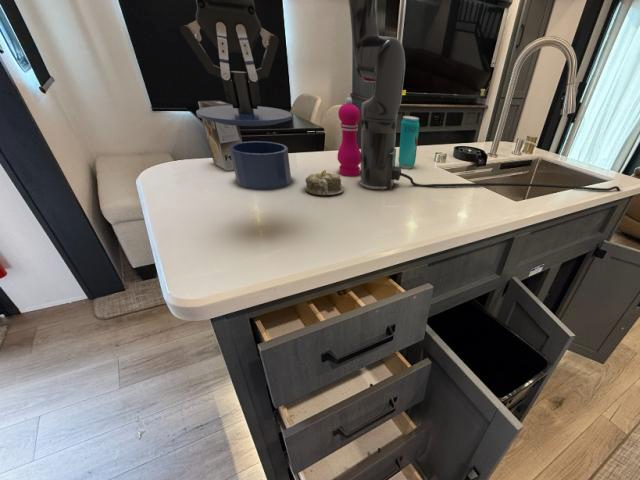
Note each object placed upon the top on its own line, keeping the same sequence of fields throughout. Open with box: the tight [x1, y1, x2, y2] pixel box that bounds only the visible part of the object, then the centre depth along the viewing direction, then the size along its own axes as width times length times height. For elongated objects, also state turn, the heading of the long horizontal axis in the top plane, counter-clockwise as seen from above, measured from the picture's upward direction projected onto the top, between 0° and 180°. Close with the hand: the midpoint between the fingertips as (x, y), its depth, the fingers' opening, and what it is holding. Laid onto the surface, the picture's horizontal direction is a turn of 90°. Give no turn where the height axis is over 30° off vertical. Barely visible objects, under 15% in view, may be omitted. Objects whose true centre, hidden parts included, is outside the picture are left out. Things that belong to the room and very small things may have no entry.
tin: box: [230, 140, 292, 191], centre depth 84 cm, size 14×14×8 cm
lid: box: [195, 70, 293, 127], centre depth 52 cm, size 15×15×7 cm
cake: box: [305, 169, 345, 196], centre depth 84 cm, size 10×10×5 cm
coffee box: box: [197, 100, 243, 172], centre depth 90 cm, size 9×6×16 cm
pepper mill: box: [336, 96, 361, 177], centre depth 93 cm, size 7×7×20 cm
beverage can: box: [398, 115, 420, 170], centre depth 106 cm, size 6×6×15 cm
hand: (245, 107), depth 53 cm, fingers closed on lid, 2 cm apart
